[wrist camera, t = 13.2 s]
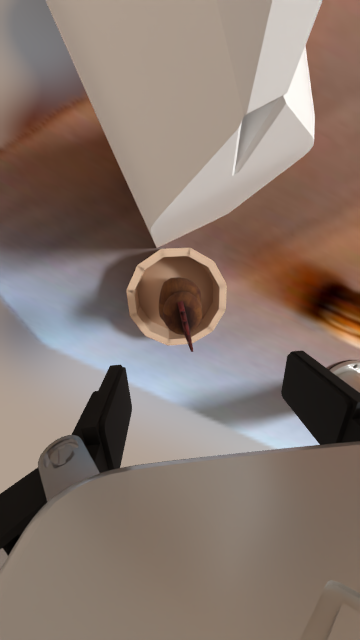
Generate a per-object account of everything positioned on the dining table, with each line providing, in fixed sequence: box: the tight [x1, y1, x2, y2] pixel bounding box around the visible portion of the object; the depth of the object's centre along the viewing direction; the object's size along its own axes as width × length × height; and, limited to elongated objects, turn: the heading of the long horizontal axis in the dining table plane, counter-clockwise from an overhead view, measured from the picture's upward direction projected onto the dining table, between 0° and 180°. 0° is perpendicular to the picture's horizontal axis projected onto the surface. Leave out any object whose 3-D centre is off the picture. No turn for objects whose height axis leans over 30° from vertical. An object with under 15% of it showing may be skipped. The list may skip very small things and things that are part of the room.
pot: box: [126, 248, 227, 345], centre depth 30 cm, size 14×14×5 cm
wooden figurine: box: [159, 277, 202, 352], centre depth 24 cm, size 7×6×15 cm
